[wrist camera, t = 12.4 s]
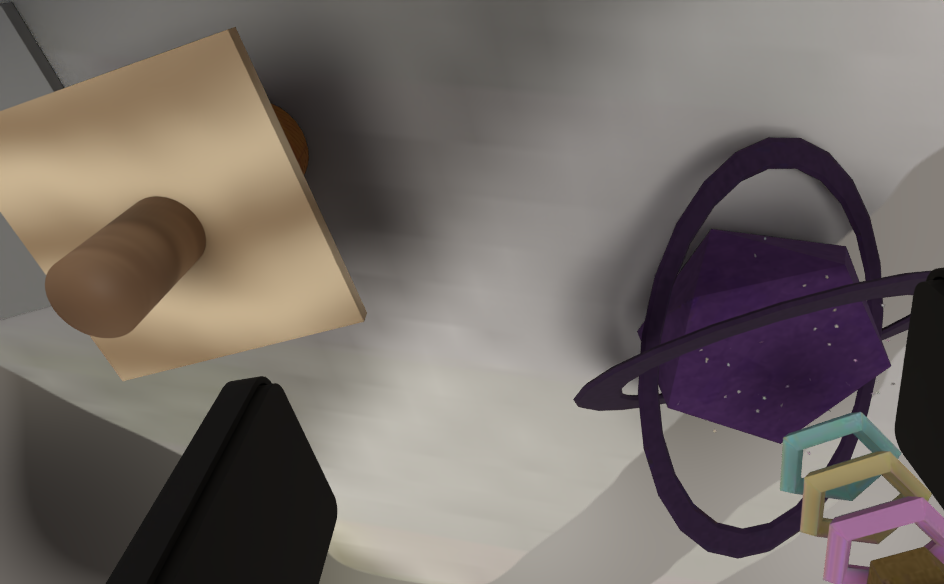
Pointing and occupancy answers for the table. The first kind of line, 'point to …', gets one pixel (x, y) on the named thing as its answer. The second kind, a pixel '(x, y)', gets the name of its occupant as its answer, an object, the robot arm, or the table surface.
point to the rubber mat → (3, 86)
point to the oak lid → (172, 212)
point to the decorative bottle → (778, 370)
